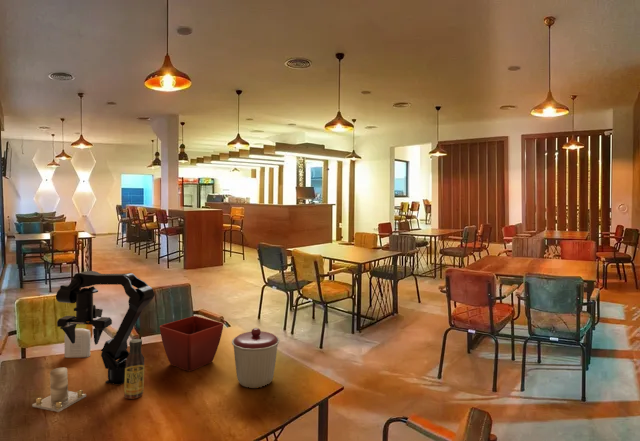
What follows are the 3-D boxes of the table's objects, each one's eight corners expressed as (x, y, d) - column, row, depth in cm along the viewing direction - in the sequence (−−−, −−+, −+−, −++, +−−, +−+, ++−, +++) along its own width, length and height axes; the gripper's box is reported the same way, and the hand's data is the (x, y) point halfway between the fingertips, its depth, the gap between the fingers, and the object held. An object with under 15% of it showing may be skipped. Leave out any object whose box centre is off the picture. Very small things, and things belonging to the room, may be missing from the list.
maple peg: (69, 394, 142) (68, 366, 142) (67, 400, 138) (66, 372, 137) (52, 397, 140) (51, 369, 140) (49, 404, 136) (48, 374, 135)
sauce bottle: (124, 401, 140) (124, 345, 139) (123, 393, 145) (123, 339, 144) (145, 397, 143) (145, 342, 142) (143, 390, 148) (143, 336, 147)
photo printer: (92, 354, 181) (92, 326, 180) (88, 357, 176) (88, 329, 176) (67, 354, 179) (67, 327, 179) (62, 358, 175) (62, 330, 174)
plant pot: (224, 361, 176) (224, 322, 175) (188, 377, 160) (189, 335, 159) (194, 351, 186) (194, 315, 185) (158, 365, 170) (158, 325, 169)
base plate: (86, 396, 143) (86, 389, 143) (58, 412, 132) (58, 404, 132) (61, 391, 146) (61, 385, 146) (32, 406, 135) (32, 399, 135)
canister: (242, 370, 167) (243, 319, 166) (284, 374, 163) (285, 323, 162) (223, 390, 149) (223, 333, 148) (270, 396, 146) (271, 338, 145)
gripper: (119, 299, 164) (119, 337, 165) (75, 298, 165) (75, 335, 166) (103, 307, 153) (103, 347, 154) (55, 305, 154) (56, 345, 155)
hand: (84, 343), depth 157 cm, fingers open, 9 cm apart
